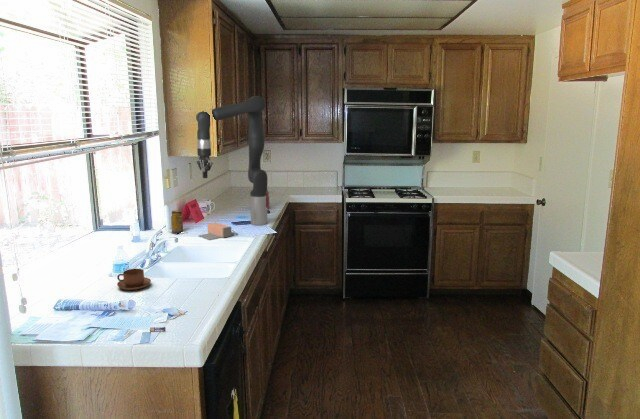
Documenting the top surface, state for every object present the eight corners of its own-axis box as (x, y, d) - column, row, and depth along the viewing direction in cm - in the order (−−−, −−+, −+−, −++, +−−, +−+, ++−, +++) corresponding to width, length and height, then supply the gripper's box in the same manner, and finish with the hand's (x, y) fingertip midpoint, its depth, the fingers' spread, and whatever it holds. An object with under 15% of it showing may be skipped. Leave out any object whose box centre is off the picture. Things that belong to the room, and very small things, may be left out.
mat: (225, 230, 273) (225, 230, 273) (237, 234, 266) (237, 233, 266) (198, 236, 261) (198, 235, 261) (209, 240, 253) (209, 239, 253)
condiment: (179, 230, 274) (178, 209, 272) (188, 232, 269) (187, 211, 266) (168, 232, 269) (167, 211, 267) (176, 234, 264) (175, 213, 261)
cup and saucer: (117, 294, 177) (116, 278, 176) (117, 283, 188) (116, 268, 187) (151, 290, 182) (151, 274, 181) (150, 280, 193) (149, 265, 192)
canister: (247, 209, 334) (247, 184, 331) (255, 206, 347) (255, 182, 343) (265, 211, 331) (264, 185, 327) (272, 207, 343) (272, 182, 339)
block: (215, 222, 270) (231, 226, 260) (215, 231, 271) (231, 235, 261) (207, 223, 266) (223, 228, 256) (207, 232, 267) (223, 237, 257)
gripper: (216, 147, 270) (217, 178, 274) (203, 146, 279) (204, 176, 283) (205, 148, 265) (206, 179, 268) (191, 147, 274) (193, 177, 277)
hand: (205, 178), depth 275 cm, fingers closed
